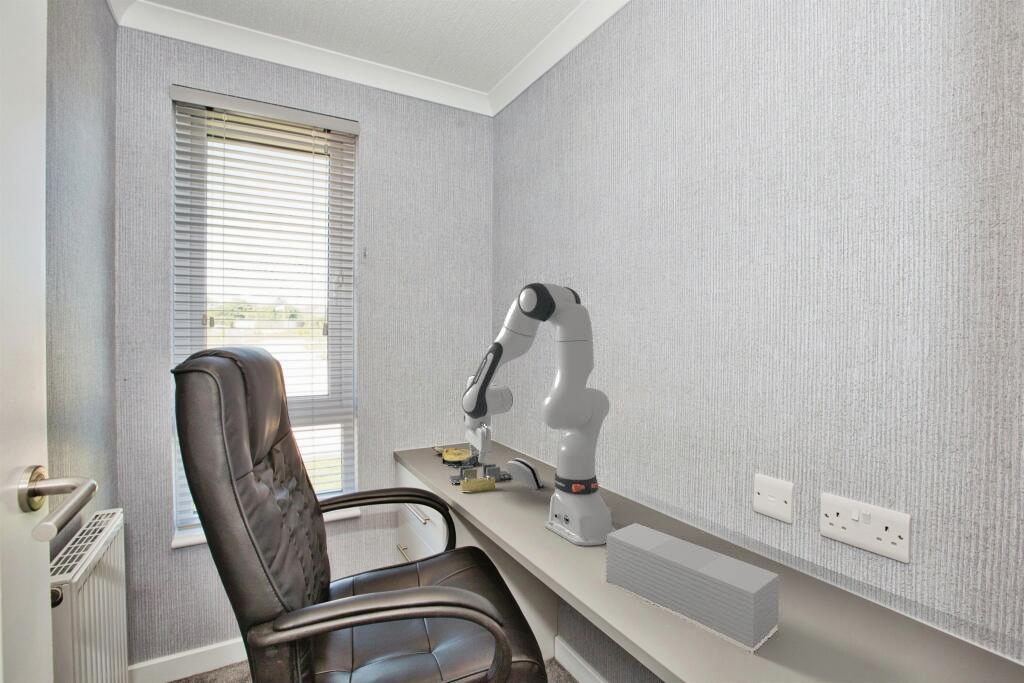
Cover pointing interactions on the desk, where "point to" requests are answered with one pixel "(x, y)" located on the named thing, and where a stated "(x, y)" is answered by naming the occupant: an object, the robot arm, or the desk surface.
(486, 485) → the brass block with peg
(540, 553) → the desk surface
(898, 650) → the desk surface
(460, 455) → the pulley block
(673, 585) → the stack of papers
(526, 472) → the grey half-round block
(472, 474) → the chain end
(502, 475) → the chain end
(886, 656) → the desk surface
